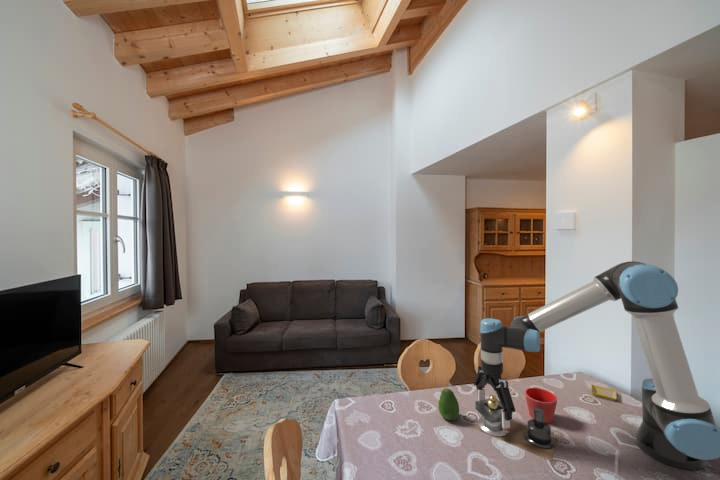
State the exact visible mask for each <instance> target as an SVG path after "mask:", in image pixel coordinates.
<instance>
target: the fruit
mask: <svg viewBox="0 0 720 480" xmlns="http://www.w3.org/2000/svg"><path fill="white" fill-rule="evenodd" d="M438 411H439V413H440V415H441V416H442V418H444V419H445V420H447V421H454V420H456V419H457V418H459V417H458V416H459V413H460V405H459V401H458V399H457V396H456V395H455V393H454V391H453V390H451V389H450V388H443V389H442V390H441V393H440V396H439V400H438Z"/></svg>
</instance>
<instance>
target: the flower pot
mask: <svg viewBox="0 0 720 480" xmlns="http://www.w3.org/2000/svg"><path fill="white" fill-rule="evenodd" d="M524 393H525V394H524V395H525V399H526V401H525V402H526V406H527V410H528V414H529V416H530V418H531V419H534V408H540V409H542V410H543V411H544V422H545V423H547V424H550V423H553V421H554V418H555V413H556V409H557V402H558V398H557V395H555V394H554V393H553V392H551V391H548V390H547V389H544V388H539V387H528V388H526V389H525V391H524Z"/></svg>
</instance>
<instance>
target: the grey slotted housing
mask: <svg viewBox="0 0 720 480" xmlns="http://www.w3.org/2000/svg"><path fill="white" fill-rule="evenodd" d="M488 399H489V398H487V399H486V398H485V400H480V401H478V400H477V401H475V403H474V404H475V405H474V406H475V407H474V408H475V410H476V411H477V412H478V414H479V413H480V415H482V416H484V417H485V418H486V419H487V420H488V421H489V422H490V423H496V422H500V421H502V409H503V407H502V405H501V402H500V400H499V398H496V400H497V401H498V410H495V411H491V410H490V409H489V408H488ZM482 416H481V417H482ZM511 420H513V412H511Z"/></svg>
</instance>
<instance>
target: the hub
mask: <svg viewBox="0 0 720 480" xmlns="http://www.w3.org/2000/svg"><path fill="white" fill-rule="evenodd" d="M487 399H488V408H489V409H490V410H491V411H495V410H498V401H497V400H496V399H497V397H496V395H493V394H489V398H487ZM477 423H478V426H479V428H480V429H481V430H482V431H483V432H485V433H484V434H486V435H488V436H490V435H491V437H493V436H495V437H504V436H507V435H508V434H509V432H510V428H505V429H503V428H502V421H500V422H496V423H490V422H489V421H488V420H487V419H486V418H485V417H484V416H483V417H482V416H481V417H479V418H478V420H477ZM483 432H482V433H483ZM495 437H494V438H495Z"/></svg>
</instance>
